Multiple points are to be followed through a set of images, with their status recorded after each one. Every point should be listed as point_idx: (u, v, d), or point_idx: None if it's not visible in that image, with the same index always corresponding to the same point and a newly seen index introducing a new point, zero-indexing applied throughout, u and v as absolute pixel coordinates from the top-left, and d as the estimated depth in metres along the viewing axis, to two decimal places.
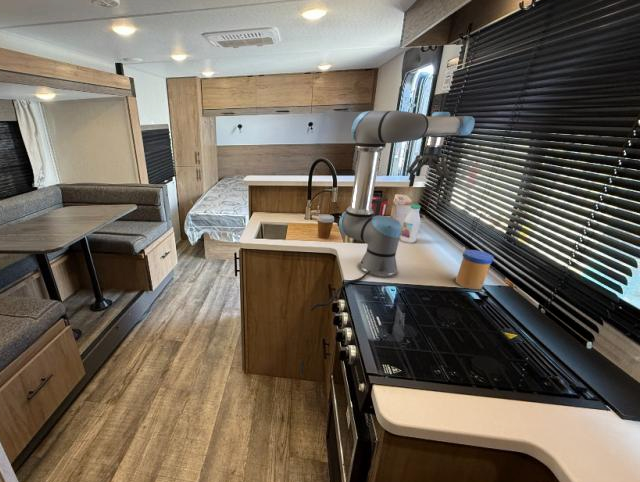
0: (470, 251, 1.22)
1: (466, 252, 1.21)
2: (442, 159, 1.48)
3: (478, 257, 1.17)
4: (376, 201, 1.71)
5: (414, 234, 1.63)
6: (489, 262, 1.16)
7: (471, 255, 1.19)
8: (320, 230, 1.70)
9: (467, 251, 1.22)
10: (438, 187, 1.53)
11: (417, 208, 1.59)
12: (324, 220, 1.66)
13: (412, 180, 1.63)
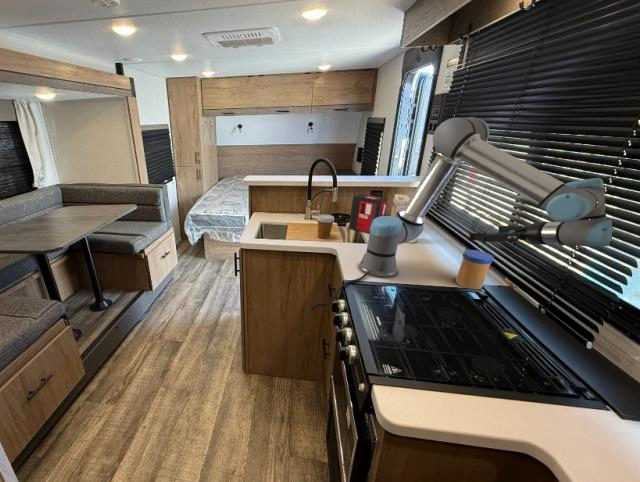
0: (470, 251, 1.22)
1: (466, 252, 1.21)
2: (513, 233, 1.03)
3: (478, 257, 1.17)
4: (376, 201, 1.71)
5: None
6: (489, 262, 1.16)
7: (471, 255, 1.19)
8: (320, 230, 1.70)
9: (467, 251, 1.22)
10: (474, 236, 1.17)
11: None
12: (324, 220, 1.66)
13: (507, 228, 1.17)
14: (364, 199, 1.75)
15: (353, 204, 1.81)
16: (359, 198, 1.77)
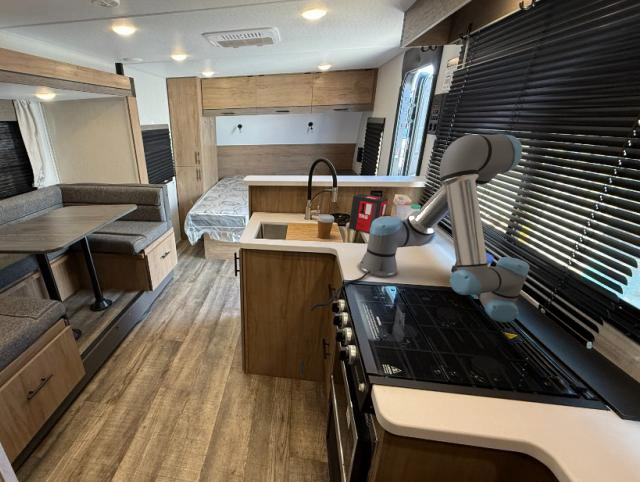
0: None
1: None
2: None
3: None
4: (376, 201, 1.71)
5: None
6: (489, 262, 1.16)
7: None
8: (320, 230, 1.70)
9: None
10: (457, 263, 1.26)
11: (417, 208, 1.59)
12: (324, 220, 1.66)
13: None
14: (364, 199, 1.75)
15: (353, 204, 1.81)
16: (359, 198, 1.77)
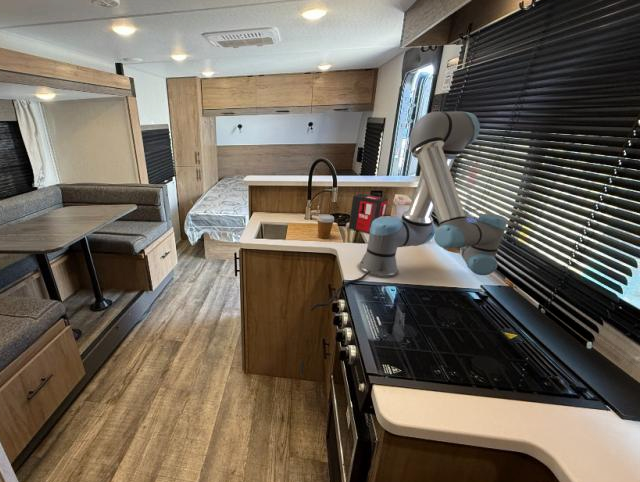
0: None
1: None
2: None
3: None
4: (376, 201, 1.71)
5: None
6: None
7: None
8: (320, 230, 1.70)
9: None
10: None
11: None
12: (324, 220, 1.66)
13: None
14: (364, 199, 1.75)
15: (353, 204, 1.81)
16: (359, 198, 1.77)
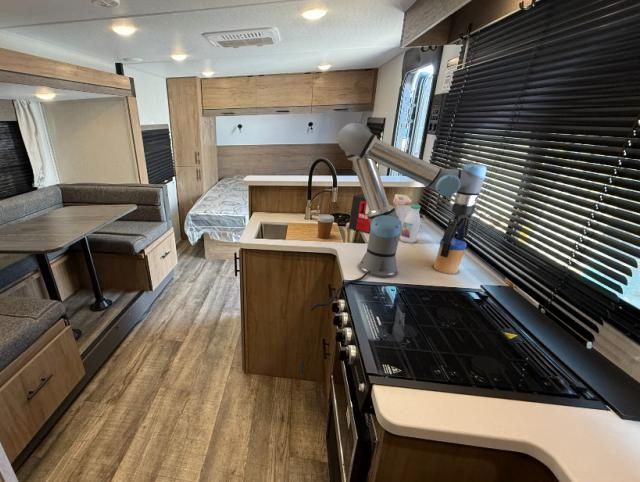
0: None
1: None
2: None
3: (452, 244, 1.29)
4: None
5: (414, 234, 1.63)
6: (462, 248, 1.28)
7: None
8: (320, 230, 1.70)
9: None
10: (444, 252, 1.31)
11: (417, 208, 1.59)
12: (324, 220, 1.66)
13: None
14: (364, 199, 1.75)
15: (353, 204, 1.81)
16: (359, 198, 1.77)
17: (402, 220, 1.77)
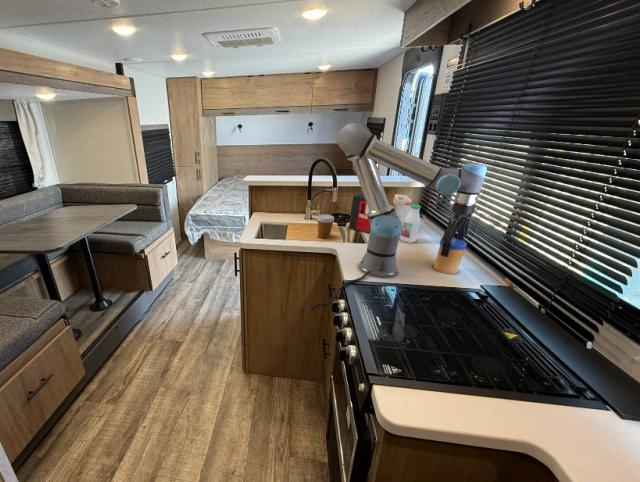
0: None
1: (454, 244, 1.28)
2: None
3: (462, 243, 1.30)
4: None
5: (414, 234, 1.63)
6: None
7: (460, 244, 1.28)
8: (320, 230, 1.70)
9: None
10: (444, 251, 1.30)
11: (417, 208, 1.59)
12: (324, 220, 1.66)
13: None
14: (364, 199, 1.75)
15: (353, 204, 1.81)
16: (359, 198, 1.77)
17: (402, 220, 1.77)
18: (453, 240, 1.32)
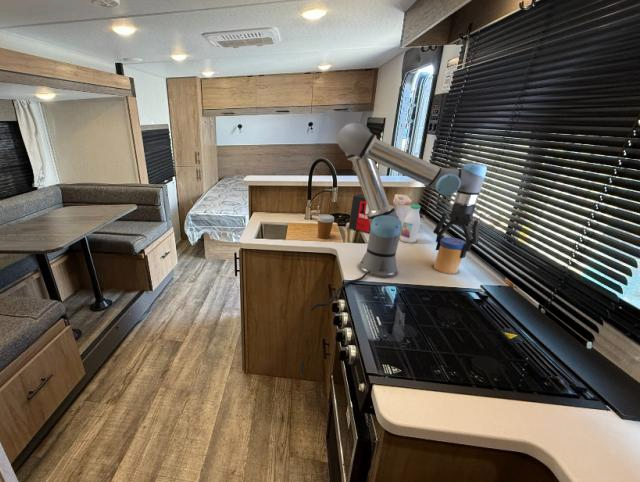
0: (460, 243, 1.29)
1: (464, 242, 1.30)
2: (475, 222, 1.22)
3: (454, 239, 1.34)
4: None
5: (414, 234, 1.63)
6: None
7: (460, 240, 1.32)
8: (320, 230, 1.70)
9: (463, 243, 1.29)
10: (464, 253, 1.29)
11: (417, 208, 1.59)
12: (324, 220, 1.66)
13: None
14: (364, 199, 1.75)
15: (353, 204, 1.81)
16: (359, 198, 1.77)
17: (402, 220, 1.77)
18: (450, 240, 1.32)
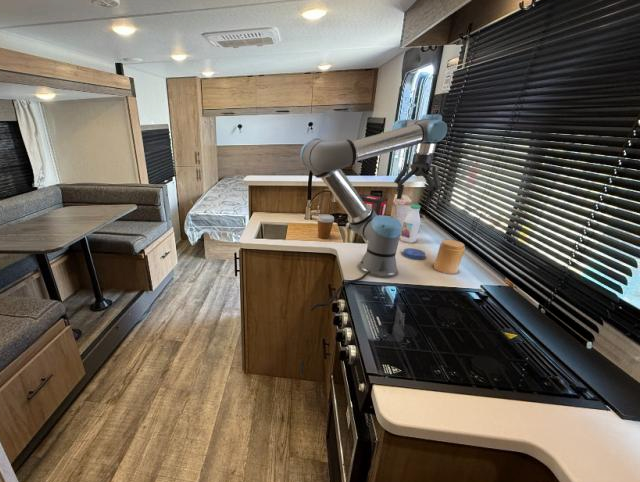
0: (419, 254, 1.47)
1: (423, 253, 1.48)
2: (433, 169, 1.29)
3: (415, 249, 1.52)
4: (376, 201, 1.71)
5: (414, 234, 1.63)
6: None
7: (420, 251, 1.50)
8: (320, 230, 1.70)
9: (422, 254, 1.47)
10: (429, 200, 1.34)
11: (417, 208, 1.59)
12: (324, 220, 1.66)
13: (400, 191, 1.44)
14: (364, 199, 1.75)
15: None
16: None
17: (402, 220, 1.77)
18: (411, 251, 1.50)
